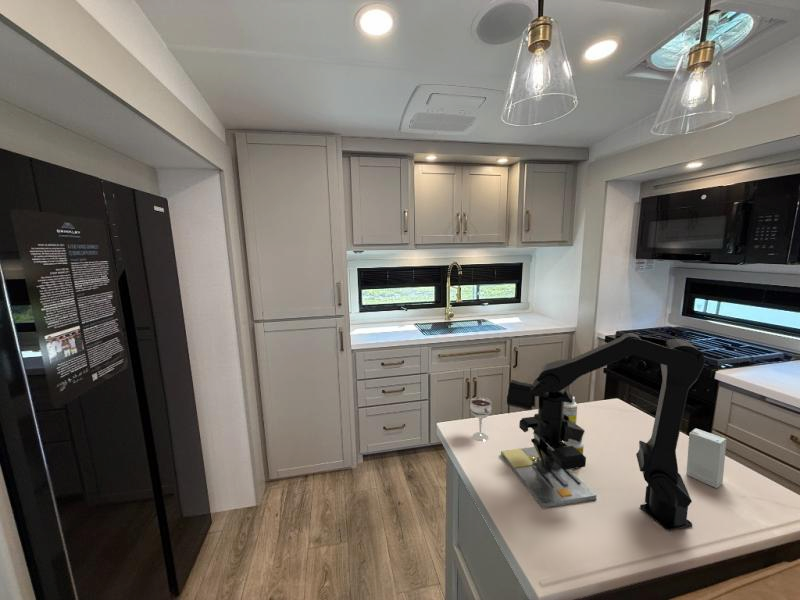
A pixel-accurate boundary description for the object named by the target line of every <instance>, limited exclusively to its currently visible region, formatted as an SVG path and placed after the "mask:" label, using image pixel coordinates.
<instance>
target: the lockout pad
mask: <svg viewBox="0 0 800 600" xmlns="http://www.w3.org/2000/svg"><path fill="white" fill-rule="evenodd" d="M521 449H522V448H516V450H514V449H507V450H508V451H506V450H501V451H502V453H503V454H504V456H505V457H506V458H507V459H508V461H509V462H510V463H511V464H512V466H513V467H514V468H518V467H525V466H532V465H533V464H532V461H531V460H530V458H529V457H528V456H527V455H526V454H525V453H524V452H523V451H522V450H521Z"/></svg>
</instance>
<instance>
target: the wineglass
mask: <svg viewBox="0 0 800 600" xmlns="http://www.w3.org/2000/svg"><path fill="white" fill-rule="evenodd" d="M469 401H470V405H469V410H470V412H471V414H472V415H473V416H474V417H475V418H478V419H479V420H478V422H479V423H478V425H479V432H475V433H473V434H472V438H473V439H474V440H475V441H478V442H486V441H487V440H489V436H488V435H487V434H486V433H483V432H482V421H483V419H485V418H487V417H489V416H490V415H491V413H492V401H491V400H490V399H489V398H486V397H484V396H483V397H481V396H478V397H477V396H475V397H473V398H471V399H470V400H469Z"/></svg>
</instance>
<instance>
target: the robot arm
mask: <svg viewBox="0 0 800 600" xmlns="http://www.w3.org/2000/svg"><path fill="white" fill-rule="evenodd" d="M630 356H636V357H640V358H644V359H646V360H649V361H652V362H654V363H657V364H660V368H661V369H660V370H661V376H662V382H661V385H660V386H661V387H660V392H659V397H658V401H657V402H658V403H657V408H656V413H655V417H654V424H653V425H652V433H651V436H650V438H649V440H648V441H647V442H645V441H643V440H639V441H638V444H639V446H638V447H639V449H638V451H637V453H635V455H636V459H637V464H638V467H639V468H638V469H639V471H640V472H642V476H643V479H644V481H645V482H646V483H647V485H646V487H645V496H644V502H645V503H642V504H640V505H639V508H640V509H641V510H643V512H645V513H646V514H647V515H648V516H649V517H650V518H652V519H653V520H654V521H655V522H656V523H658V524H659V525H660V526H662V528H663V529H664V530H666V531H673V530H679V529H684V528H689V527H693V523H692V521H690V520H689V519H688V509H689V506H690V505H691V503H692V501H693V500H692V498H691V496H690V494H689V491H688V489H687V486H686V484H685V482H684V479H683V478H682V475H681V474H680V473H679V468H678V460H677V452H676V449H677V447H678V441H679V436H680V432H681V427H682V422H683V418H684V413H685V408H686V404H687V399H688V395H689V390H690V389H691V387H693V385H694V383H696V382H697V380H698V379H699V377H700V375H701V373H702V371H703V369H704V367H705V365H706V359H705V356H704V354H703V353H702V352H701V351H700V350H699V349H698V348H697V347H695V346H694V345H693V344H692V343H691V342H689V341H687V340H685V339H681V338H672V339H669V340H668V339H663V338H660V337H653V336H647V335H645V336H644V335H640V334H636V333H633V332H628V333H627V332H626V333H624V334H622V335H621V336H620V337H618V338H615V339H613V340H611V341H609V342H607V343H604V344H601V345H599V346H598V347H595V348H593V349H590V350H588V351H586V352H584V353H582V354H579V355H577V356H575V357H572V358H568V359H559V360H555V361H552V362H548V363H546V364H544V365H543V366H542V367H541V370H540V372H539V375H538V376H537V378H535V379H534V380H533V383H527V382H521V381H517V380H516V379H515V380H513V379H511V380H510V381H509V387H508V392H507V396H506V405H507V406H509V407H512V408H517V409H522V410H527V411H532V410H533V408H536V406H537V401H538V410H537V411H538V412H537V413H535V414H534V416H528V417H522V418H521V419H520V420H519V426H518V427H519V429H520V430H522V431H523V432H524V433H527V432H529V429H530V428H531V429H532V430H533V432H532V434H533V438H531V443H532V444H533V447H535V449H536V451H537V453H538V455H539V457H540V459H541V462H542V464H543V466H544V468H545V470H546V471H547V472H548V471H551V469H552V467H553V466H554V464H555V463H556V464H558V465H559V466H560V467H561V468H562V469H565V470H567V469H570V470H571V469H572V470H573V469H579V468H585V467H586V465H587V463H586V462H587V456H585V455H584V453H583V454H582V453H580V452H579V451H578V450H577V449H576V448H574V447H573V446H568V447H567V445H566V444H565V443H564V442H568V440H569V439H572V440H576V441H577V442H581V439H582V440H583V437H584V434H585V429H584V428H582V427H580V426H579V425H578V424H577V423H576V424H575V423H573V422H572V421H570V420H569V417H568V416H566V415H565V414H563V412H564V402H568V403H572V402H573V394H572V393H571V392H569V391H568V388H567V387H569V386H570V385H572V384H573V383H574V382H575V381H577V380H578V379H579V378H580V377H582V376H584V375H587V374H590V373H591V372H594V371H596V370H598V369H601V368H603V367H606V366H609V365H610V364H613V363H616V362H619V361H621V360H624V359H625V358H628V357H630ZM537 397H538V399H537Z"/></svg>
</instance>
